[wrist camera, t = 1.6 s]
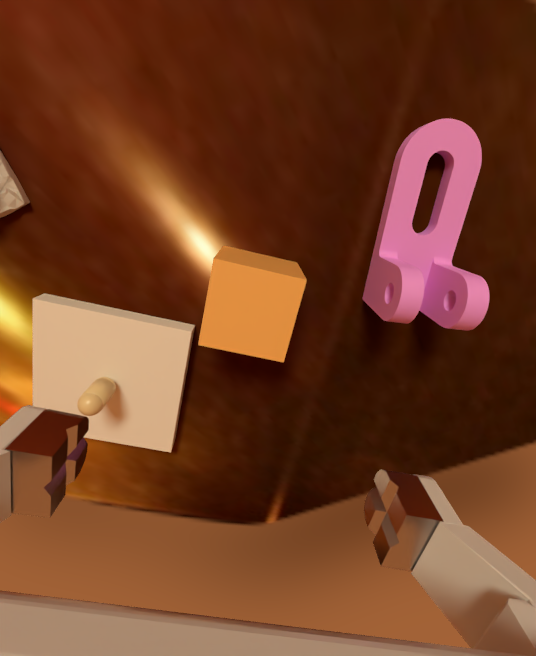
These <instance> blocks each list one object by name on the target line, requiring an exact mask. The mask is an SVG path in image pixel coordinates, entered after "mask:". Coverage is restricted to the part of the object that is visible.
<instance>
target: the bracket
mask: <svg viewBox="0 0 536 656" xmlns="http://www.w3.org/2000/svg"><path fill="white" fill-rule="evenodd" d="M434 153H438V154H440V155H441V156H442V157H443V158H444V161H445V169H444V172H443V176H442V179H441V183H440V187H439V190H438V194H437V197H436V201H435V204H434V208H433V212H432V215H431V219H430V222H429V225H428V227H427V228H426V229H425V230H424V231H423V232H421V233H418V234H417V233H415V232H414V230H413V228H412V220H413V216H414V212H415V209H416V205H417V201H418V197H419V193H420V190H421V186H422V182H423V178H424V174H425V171H426V167H427V163H428V160H429V159H430V157H431V156H432V155H433V154H434ZM481 161H482V151H481V145H480V142H479V139H478V137H477V135H476V134H475V132H474V131H473V130H472V129H471V128H470V127H469V126H468V125H467V124H465V123H464V122H461V121H459V120H455V119H440V120H436V121H433V122H431V123H429V124H426V125H424V126H422V127H420V128H418V129H416V130H415V131H414V132H412V133H411V134H410V135H409V136H408V137H407V138H406V139H405V140H404V142H403V143H402V145H401V146H400V148H399V150H398V152H397V154H396V157H395V161H394V165H393V169H392V173H391V178H390V182H389V186H388V191H387V195H386V199H385V204H384V208H383V212H382V217H381V221H380V225H379V230H378V234H377V238H376V242H375V247H374V251H373V255H372V260H371V264H370V268H369V273H368V277H367V281H366V286H365V290H364V294H363V300H364V301H365V302H366V303H367V304H368V306H369V307H370V308H371V309H372V310H373V311H374V312H375V313H376V314H377V315H378V316H379V317H380V318H381V319H382V320H384V321H389V322H398V323H410V322H411V321H413V320H414V318H415V317H416V316H417V314H418V312H419V311H421V312H422V313H423V314H425V315H426V316H428V317H429V318H430V319H432V320H433V321H435V322H436V323H437V324H439V325H440V326H442V327H444V328H449V329H458V330H472V329H474V328H475V327H477V326H478V325H479V324H480V322H481V321H482V320H483V318H484V316H485V314H486V312H487V309H488V305H489V289H488V285H487V283H486V281H485V280H484V279H483V278H482V277H481V276H478V275H476V274H473V273H470V272H467V271H465V270H462V269H459V268H456V267H454V266H453V265H452V257H453V254H454V251H455V248H456V244H457V241H458V238H459V235H460V232H461V228H462V225H463V222H464V219H465V216H466V212H467V209H468V206H469V203H470V200H471V197H472V193H473V190H474V187H475V184H476V181H477V177H478V174H479V171H480V167H481Z"/></svg>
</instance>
